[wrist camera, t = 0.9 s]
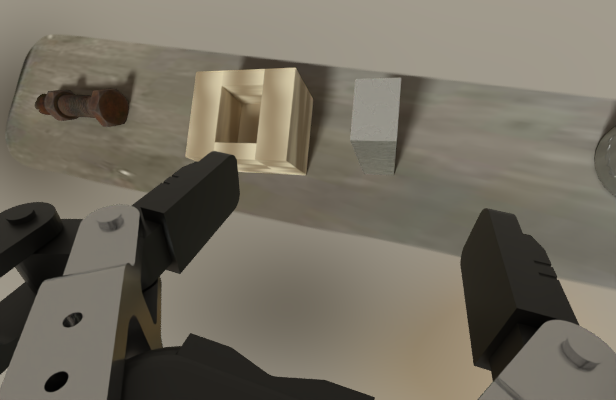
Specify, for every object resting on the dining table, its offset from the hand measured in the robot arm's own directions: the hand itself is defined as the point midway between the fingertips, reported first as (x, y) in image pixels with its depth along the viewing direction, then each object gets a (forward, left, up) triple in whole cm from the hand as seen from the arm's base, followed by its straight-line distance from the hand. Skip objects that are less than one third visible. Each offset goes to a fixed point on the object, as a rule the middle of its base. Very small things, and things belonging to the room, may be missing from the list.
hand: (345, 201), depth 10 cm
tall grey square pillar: (0, -9, -27) cm, 29 cm away
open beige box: (+15, -11, -27) cm, 33 cm away
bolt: (+46, -14, -28) cm, 56 cm away
